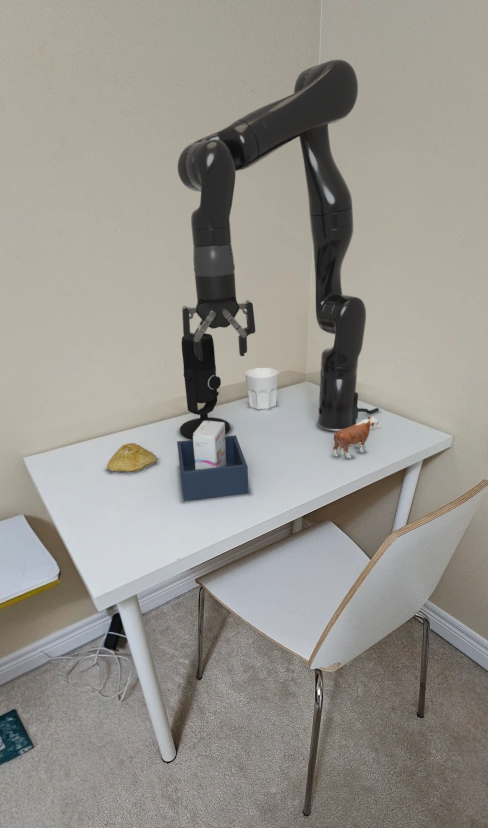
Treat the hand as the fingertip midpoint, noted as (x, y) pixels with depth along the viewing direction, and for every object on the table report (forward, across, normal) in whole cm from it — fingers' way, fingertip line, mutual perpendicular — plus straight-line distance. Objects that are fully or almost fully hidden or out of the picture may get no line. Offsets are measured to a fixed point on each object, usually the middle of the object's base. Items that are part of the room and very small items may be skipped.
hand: (221, 357), depth 98 cm
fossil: (+25, +23, -7) cm, 35 cm away
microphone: (+26, +4, -23) cm, 35 cm away
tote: (+25, +5, +5) cm, 26 cm away
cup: (+26, -16, -38) cm, 49 cm away
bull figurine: (+26, -30, 0) cm, 40 cm away
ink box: (+25, +5, +5) cm, 26 cm away
